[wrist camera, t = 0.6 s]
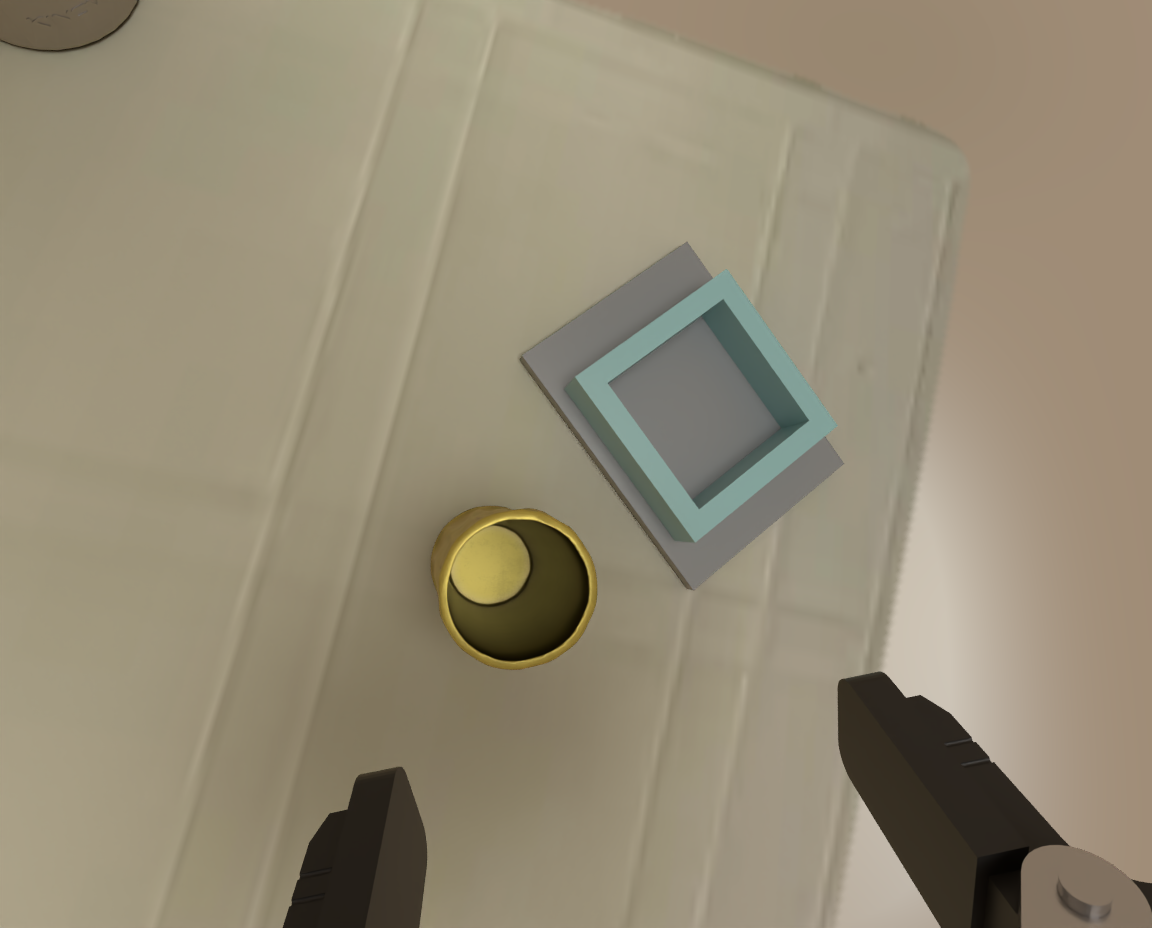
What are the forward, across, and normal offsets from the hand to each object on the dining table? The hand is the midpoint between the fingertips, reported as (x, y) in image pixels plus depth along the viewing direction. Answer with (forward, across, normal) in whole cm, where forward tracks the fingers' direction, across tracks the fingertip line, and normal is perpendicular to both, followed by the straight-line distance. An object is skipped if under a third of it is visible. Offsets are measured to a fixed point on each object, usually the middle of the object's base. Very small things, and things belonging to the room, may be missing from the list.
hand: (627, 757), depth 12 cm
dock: (+27, -8, +3) cm, 28 cm away
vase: (+22, +5, +8) cm, 24 cm away
